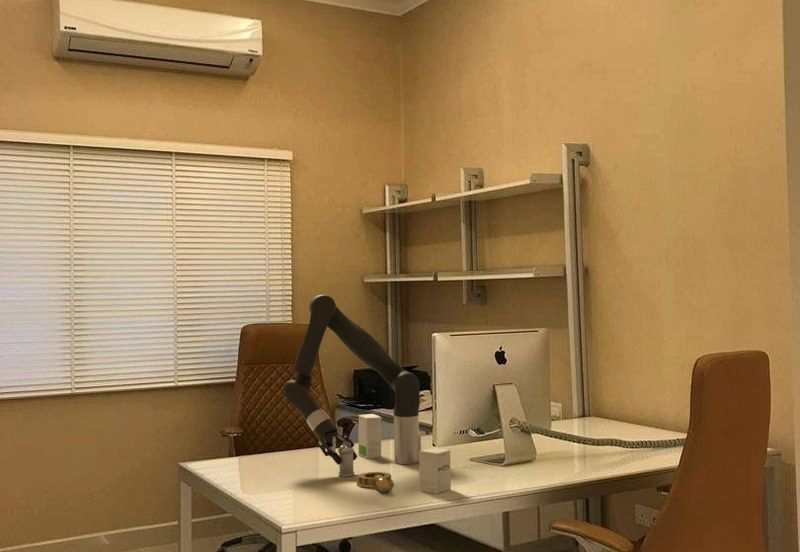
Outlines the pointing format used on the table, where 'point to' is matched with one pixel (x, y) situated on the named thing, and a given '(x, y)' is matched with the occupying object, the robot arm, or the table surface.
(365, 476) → the bronze ring
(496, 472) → the table surface
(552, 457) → the table surface
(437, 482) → the supplement box
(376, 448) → the skincare box
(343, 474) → the grey flanged cylinder
